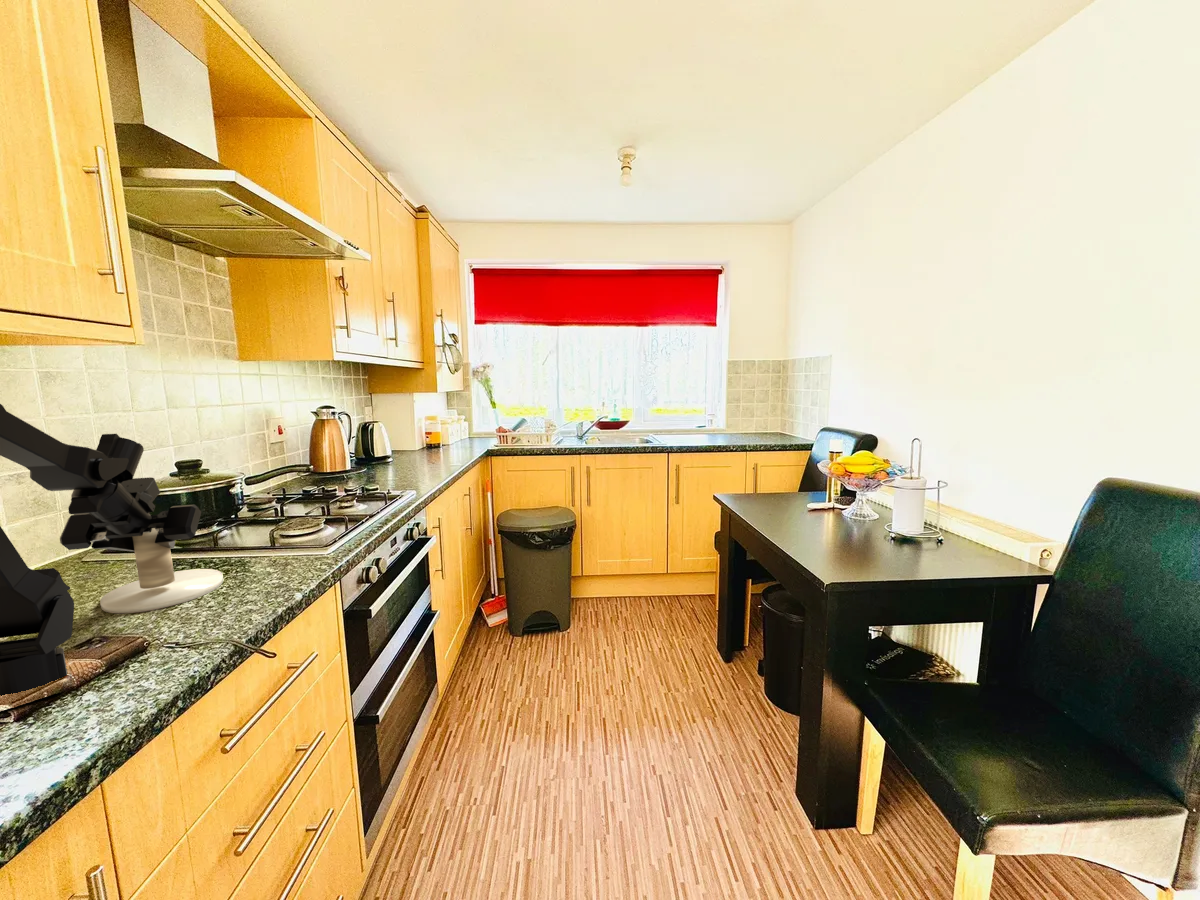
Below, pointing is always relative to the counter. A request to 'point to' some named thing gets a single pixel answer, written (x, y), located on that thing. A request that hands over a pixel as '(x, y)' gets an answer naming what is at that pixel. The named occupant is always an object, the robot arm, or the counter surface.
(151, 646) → the counter surface
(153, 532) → the pepper mill
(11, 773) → the counter surface
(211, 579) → the plate
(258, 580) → the counter surface
